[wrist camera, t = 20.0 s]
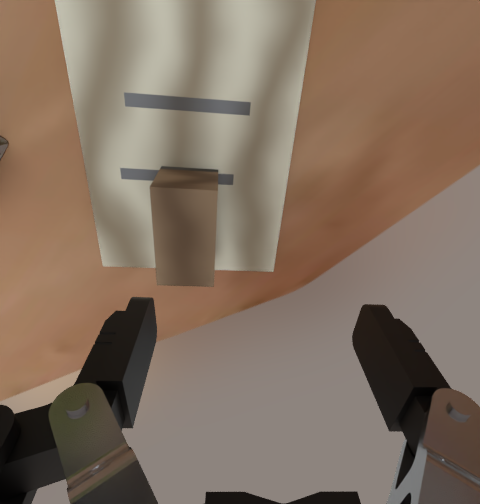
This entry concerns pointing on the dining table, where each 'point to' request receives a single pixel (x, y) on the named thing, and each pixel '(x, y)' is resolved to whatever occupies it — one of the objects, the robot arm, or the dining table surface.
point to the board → (187, 113)
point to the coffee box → (3, 146)
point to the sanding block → (184, 225)
